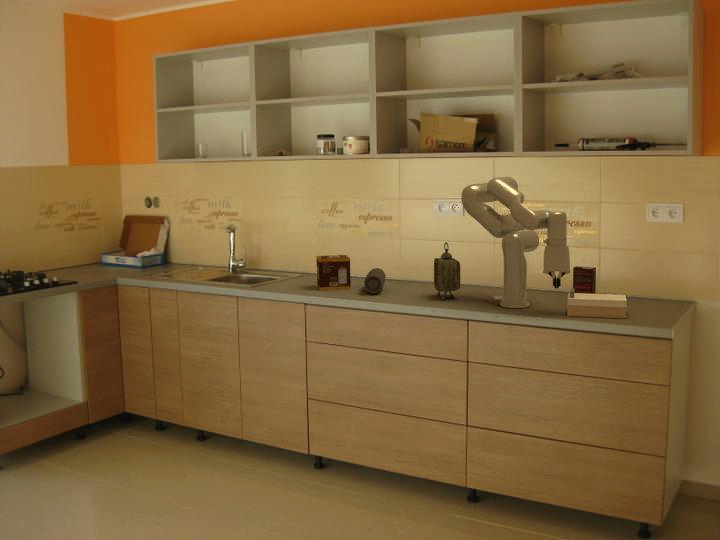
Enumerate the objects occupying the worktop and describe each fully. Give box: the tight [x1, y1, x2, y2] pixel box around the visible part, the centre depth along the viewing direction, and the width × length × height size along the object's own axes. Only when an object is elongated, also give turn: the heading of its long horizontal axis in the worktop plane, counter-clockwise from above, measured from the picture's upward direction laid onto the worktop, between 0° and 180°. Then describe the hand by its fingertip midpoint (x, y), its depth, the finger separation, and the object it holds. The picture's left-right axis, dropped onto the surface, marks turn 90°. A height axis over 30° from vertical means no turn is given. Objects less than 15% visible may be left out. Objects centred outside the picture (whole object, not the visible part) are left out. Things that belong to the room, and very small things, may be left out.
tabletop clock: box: [433, 241, 461, 301], centre depth 354 cm, size 14×9×25 cm, turn 7°
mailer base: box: [566, 304, 627, 319], centre depth 316 cm, size 22×11×6 cm, turn 74°
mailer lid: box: [567, 287, 627, 308], centre depth 316 cm, size 22×13×5 cm, turn 74°
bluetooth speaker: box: [363, 267, 387, 294], centre depth 375 cm, size 23×9×10 cm, turn 174°
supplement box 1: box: [315, 254, 352, 292], centre depth 384 cm, size 10×15×16 cm
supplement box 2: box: [572, 265, 597, 294], centre depth 336 cm, size 9×5×16 cm, turn 56°
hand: (556, 287), depth 319 cm, fingers closed
